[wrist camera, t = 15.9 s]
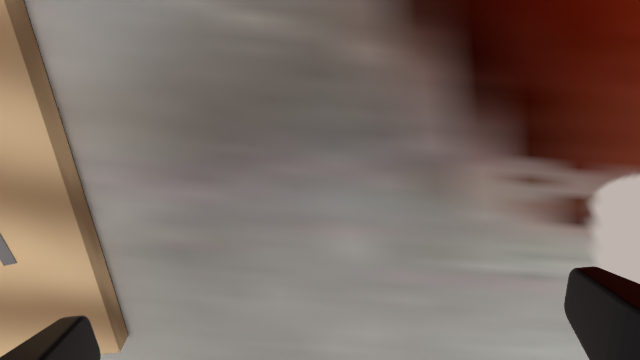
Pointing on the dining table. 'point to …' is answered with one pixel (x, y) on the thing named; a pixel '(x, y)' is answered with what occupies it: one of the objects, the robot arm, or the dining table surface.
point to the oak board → (43, 206)
